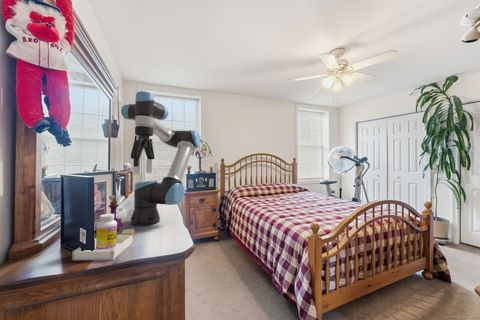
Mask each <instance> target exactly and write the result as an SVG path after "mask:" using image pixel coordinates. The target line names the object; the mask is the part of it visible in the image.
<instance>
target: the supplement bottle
mask: <svg viewBox="0 0 480 320" xmlns="http://www.w3.org/2000/svg"><path fill="white" fill-rule="evenodd" d="M99 220H100V221H98V222H97V224H96V230H95V231H96V235H95V236H96V237H95V238H96V250H112V249H114V248H115V247H116V243H117V235H118V233H117V222H116V221H115V220H114V214H110V213H103V214H101V215H99Z"/></svg>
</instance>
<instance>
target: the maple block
mask: <svg viewBox="0 0 480 320" xmlns="http://www.w3.org/2000/svg"><path fill="white" fill-rule="evenodd" d="M134 234H135V229H134V228H131V229H123V230H122V232H121V235H134ZM134 236H135V235H134Z"/></svg>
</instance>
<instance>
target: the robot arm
mask: <svg viewBox="0 0 480 320" xmlns="http://www.w3.org/2000/svg"><path fill="white" fill-rule="evenodd" d="M134 102H135V103H129V104H124V105H122V107H121V109H120V113H121V116H122V118H123V119H125V120H130V121H131V120H133V121H134V126H135V127H134V134H135V135H134V142H133V145H132V149H131V152H130V159H132V160H133V161H132V162H133V163H132V164H133V167H132V168H133V169H132V170H133V171H132V173H133V175H141V173H142V172H141V171H142V164H141V163H142V158H141V156H142V153H143V152H145V156H146V159H145V160H146V161H145V163H146V164H145V166H146V167H145V168H146V169H145V173H146V174H150V173H151V174H152V173H153V163H154V162H153V160H155V159H156V158H155V151H154V145H153V139H152V138H150V137H153V136H154V135H155V136H156V137H157V138H158V139H159V140H160V141H161V142H163V143H164V144H166V145H167V146H170V147H173V148H177V151H176V152H175V156H174V158H173V160H172V164H171V166H170V168H169V170H168V173H167V175H166V176H165V177H163V178H162V180H161V182H158V180H156V179H155V180H153V179H152V180H145V181H138V182H135V184H134V190H133V192H134V196H133V198H134V200H133V203H134V204H133V205H134V207H133V208H134V209H133V212H132V215H131V217H130V225H132V226H135V227H136V226H137V227H139V226H141V227H142V226H143V227H144V226H150V225H155V224H157V223H160V220H161V219H160V218H161V216H160V214H159V213H160V212H159V210H158V205H166V206H167V205H168V206H172V205H173V206H175V205H179V204H180V203H181V202H182V200H183V198H184V196H185V186H184V185H183V183H184V182H183V181H182V180H183V178H184V174H185V172H186V169H187V166H188V163H189V160H190V157H191V155H192V153H194V152H195V151H196V149H198V148H200V147H201V136H200V133H199V132H198V131H197V130H192V129H190V130H172V129H171V128H167V127H166V126H165V125H163V124H162V123H161V122H159V121H163V120H166V119H167V118H168V116H169V109H168V108H167V107H166V106H165V105H163V104H161V103H159V102H157V101H155V97H154V94H153V93H152V92H149V91H145V90H142V91H137V92H136V93H135V100H134ZM158 120H159V121H158ZM143 150H144V151H143Z"/></svg>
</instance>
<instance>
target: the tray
mask: <svg viewBox="0 0 480 320" xmlns="http://www.w3.org/2000/svg"><path fill="white" fill-rule="evenodd" d="M134 237H135V235H122V234H120V235H119V234H117V243H116V247H115V248H114V249H112V250H96V237H95V238H94V239H95V250H93V251H91V250H84V251H81V248H80V247H81V246H79V247H78V248H76V249H74V250H73V251H72V255H71V261H114V260H115V259H116V258H117V257H118V256H120V255H121V254H122V253H123V252H124V251H126V249H128V248H129V247H130V246H131V245H133V244H134V242H135V241H134Z"/></svg>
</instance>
